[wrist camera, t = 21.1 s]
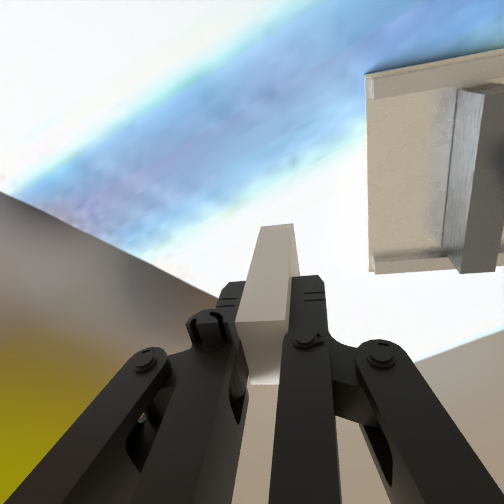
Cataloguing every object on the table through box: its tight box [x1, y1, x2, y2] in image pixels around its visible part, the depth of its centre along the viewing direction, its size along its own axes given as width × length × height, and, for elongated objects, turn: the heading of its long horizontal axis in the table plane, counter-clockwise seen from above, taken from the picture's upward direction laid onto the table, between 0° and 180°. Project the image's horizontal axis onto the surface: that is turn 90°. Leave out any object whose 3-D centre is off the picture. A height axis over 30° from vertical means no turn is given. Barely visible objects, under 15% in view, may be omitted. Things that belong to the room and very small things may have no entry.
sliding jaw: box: [442, 83, 504, 274], centre depth 30 cm, size 16×3×5 cm, turn 10°
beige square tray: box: [363, 48, 504, 274], centre depth 31 cm, size 21×22×6 cm
